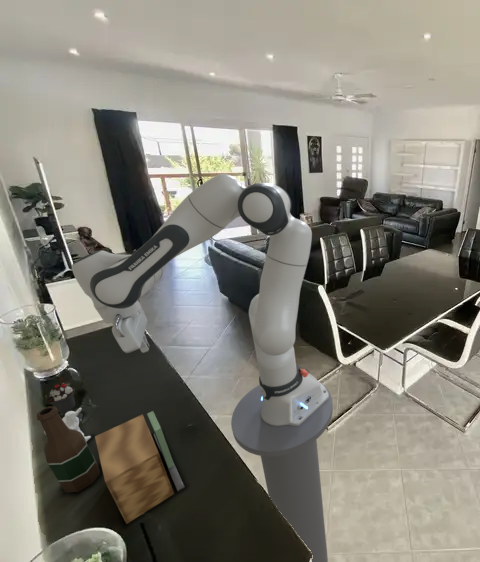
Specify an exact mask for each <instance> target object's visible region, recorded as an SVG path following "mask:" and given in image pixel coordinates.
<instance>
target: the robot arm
mask: <svg viewBox="0 0 480 562" xmlns="http://www.w3.org/2000/svg"><path fill="white" fill-rule="evenodd" d="M292 208H293V201H292V197H291V196H290V194H289V193H288V191H287V190H286V189H285V188H283V187H282V186H281V185H278V184H275V183H271V182H258V183H257V182H256V183H253V184H249V185H248V186H245V184H243V182H241V181H240V180H238V178H236V177H235V176H233V175H230V174H227V173H219V174H217V175H215V176H213V177H211V178H209V179H208V180H206V181H205V182H203V183H202V184H200V185H199V186H197V187H196V188H195V189H194V190H193V191H191V192H190V193H189V194H188V195H187V196H186V197H185V198H184V199H183V200H182V201H181V202H180V203H179V204H178V205H177V207H176V208H175V209H174V210H173V211H172V212H171V214H170V215H169V216H168V217H167V219H166V220H165V221H164V222H163V224H161V226H160V227H159V228H158V229H157V231H156V232H155V233H154V234H153V236H152V237H150V238H149V239H148V240H147V241H145V243H144V244H142V246H141V247H139V248H138V249H137V250H136V251H134V252H133V253H132V254H122V253H121V254H120V253H112V252H109V251H106V250H102V249H101V250H95V251H93V252H91V253H89V254H87V255H85V256H82V257H80V258H78V259H76V260H75V261H74V262H73V263H72V265H71V270H72V274H73V276H74V278H75V280H76V282H77V283H78V285H79V287H80V288H81V290H82V291H83V293H84V294H85V295H86V296H87V297H89V299H91V301H92V304H93V307H94V309H95V311H96V312H97V313H98V315H99V316H100V318H101V319H102V320H103V322H104V323H105V324H112V327H111V332H112V335H113V337H114V339H115V341H116V342H117V344H118V346H119V347H120V349H121V350H122V351H123V353H125V354H129V353H132V352H134V351H137V350H140V352H141V353H142V354H145V353H148V352H149V350H150V346H151V345H150V344H149V342H148V338H147V335H146V334H145V333H146V329H147V325H148V318H147V315H146V314H145V311H144V309H143V308H142V304H141V303H140V302H141V300H140V299H141V297H142V296H144V295H145V294H146V293H147V292H148V291H150V290H151V289H152V288H153V287H154V286H156V285H157V284H158V282H160V280H161V279H162V277H163V268H164V267H165V266H166V265H167V264H169V263H170V262H171V261H172V260H174V259H175V258H177V257H178V256H180V255H182V254H183V253H185V252H187V251H189V250H191V249H194V248H195V247H197V246H199V245H201V244H203V243H205V242H207V241H208V240H210V239H211V238H213V237H214V236H216V235H217V234H219V233H220V232H222V230H224V229H225V228H226V227H227V226H228V225H230V223H232V222H233V221H235V219H237V218H239V217H240V218H241V219H242V220H243V221H244V222H245V223H246V224H247V225H249V226H250V227H252V228H254V229H256V230H257V231H259V232H261V233H262V234H264V235H266V236H268V237H269V243H268V247H267V251H266V256H265V261H264V263H263V267H262V271H261V275H260V280H259V291H258V293H257V294H256V295H255V296H253V298H251V301H250V304H249V308H248V318H249V323H250V329H251V334H252V340H253V345H254V351H255V357H256V362H257V367H258V373H259V374H258V375H259V377H258V383H259V385H260V391H261V394H262V398H261V400H262V409H261V417H262V419H263V420H264V421H265V422H266V423H268V424H270V425H274V426H283V425H292V426H298V425H300V424H301V423H302V422H303V421H304V420H306V419H307V418H308V417H309V416H310V415H311V414H312V413H313V412H314V411H316V410H317V409H318V408H319V407H320V406H321V405H322V404H323V403H324V402H325V401H327V400H328V398H329V394H328V391H329V390H328V391H327V389H328V388H327V387H326V386H325V385H324V384H323V383H321V382H320V381H319V380H318V379H317V378H316V377H315V376H314V375H312V374H311V373H310V371H309V369H308V368H303V369H302V367H301V366H300V365H298V364H297V362H296V361H297V360H296V353H295V347H294V345H295V342H296V330H297V329H296V328H297V327H296V326H297V320H298V313H299V305H300V296H301V295H300V294H301V290H302V289H301V288H302V285H303V281H304V278H305V275H306V271H307V266H308V263H309V258H310V254H311V249H312V241H313V240H312V238H313V232H312V231H313V230H312V229H311V227H310V225H308V224H307V223H306V222H305V221H304V220H301V219H299V218H296V217H294V216H293V215H292V214H291V212H292V210H293V209H292ZM322 384H323V385H324V386H325V387H326V388H327V389H326V388H325V387H324V386H323V385H322ZM299 419H300V420H299Z"/></svg>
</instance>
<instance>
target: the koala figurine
mask: <svg viewBox="0 0 480 562" xmlns="http://www.w3.org/2000/svg"><path fill="white" fill-rule="evenodd" d="M82 409H83V408H82V407H79V408H77V410H76V411H74V410H72V411H69V412H67V413H64V416H63V417H62V420H63V422H64V423H65V425H66V426H67V427H68V428H69V429H72V430H77V431H79V432H80V433H82V435H83V436H84V438H85V440H86V442H87V443H88V441H89V440H90V439H91V438H92V436H91V435H87V436H85V433H84V432H83V431H82V430H81V428H80V426H79V424H80V420H79V419H78V417H76V416H77V415H78V413H81V412H82ZM43 432H44V434H45V431H44V430H43Z"/></svg>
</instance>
